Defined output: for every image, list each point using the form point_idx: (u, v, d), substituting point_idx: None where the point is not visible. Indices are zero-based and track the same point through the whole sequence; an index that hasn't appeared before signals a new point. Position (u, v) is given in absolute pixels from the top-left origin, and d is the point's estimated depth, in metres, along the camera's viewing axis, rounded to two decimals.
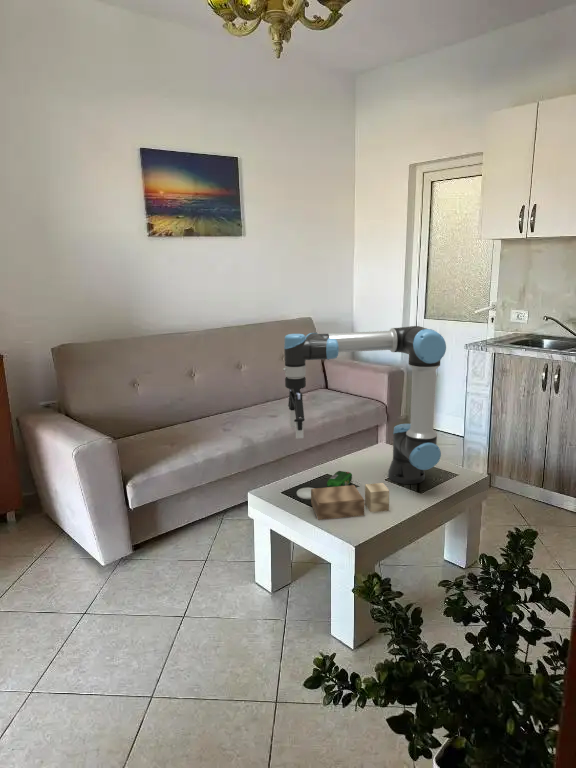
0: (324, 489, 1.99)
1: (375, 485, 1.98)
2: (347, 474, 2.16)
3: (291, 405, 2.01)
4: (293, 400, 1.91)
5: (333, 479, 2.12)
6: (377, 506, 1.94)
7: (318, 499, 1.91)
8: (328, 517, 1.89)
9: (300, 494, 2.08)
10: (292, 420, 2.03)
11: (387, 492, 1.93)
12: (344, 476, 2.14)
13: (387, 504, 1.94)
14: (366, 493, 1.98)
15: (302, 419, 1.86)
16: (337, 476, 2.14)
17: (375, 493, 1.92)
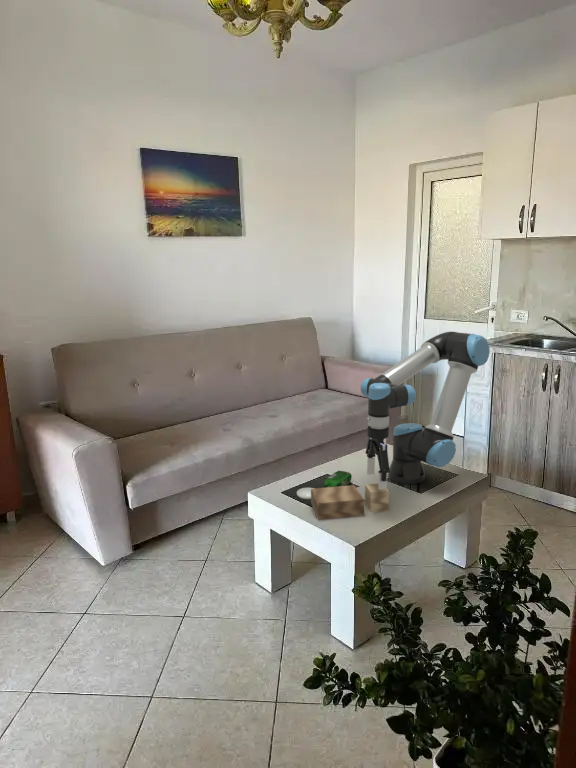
0: (324, 489, 1.99)
1: (375, 485, 1.98)
2: (346, 474, 2.16)
3: (370, 453, 1.98)
4: (376, 450, 1.89)
5: (330, 478, 2.12)
6: (377, 506, 1.94)
7: (318, 499, 1.91)
8: (328, 517, 1.89)
9: (300, 494, 2.08)
10: (370, 467, 2.01)
11: (387, 492, 1.93)
12: (342, 476, 2.14)
13: (387, 504, 1.94)
14: (366, 493, 1.98)
15: (387, 471, 1.84)
16: (335, 475, 2.15)
17: (375, 493, 1.92)
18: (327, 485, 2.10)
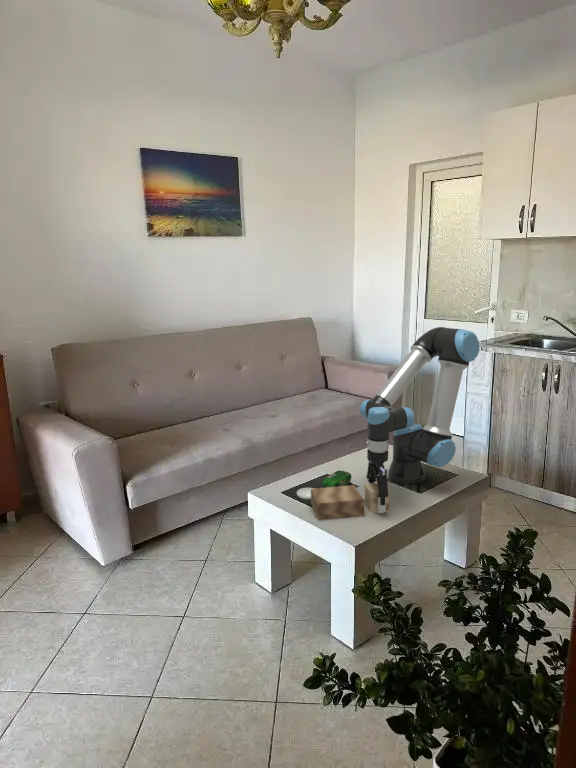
0: (324, 489, 1.99)
1: (375, 485, 1.98)
2: (345, 474, 2.16)
3: (371, 477, 2.00)
4: (376, 474, 1.91)
5: (329, 478, 2.13)
6: (377, 506, 1.94)
7: (318, 499, 1.91)
8: (328, 517, 1.89)
9: (300, 494, 2.08)
10: None
11: None
12: (341, 476, 2.14)
13: (387, 504, 1.94)
14: (366, 493, 1.98)
15: (386, 495, 1.87)
16: (334, 475, 2.15)
17: (375, 493, 1.92)
18: (325, 484, 2.11)
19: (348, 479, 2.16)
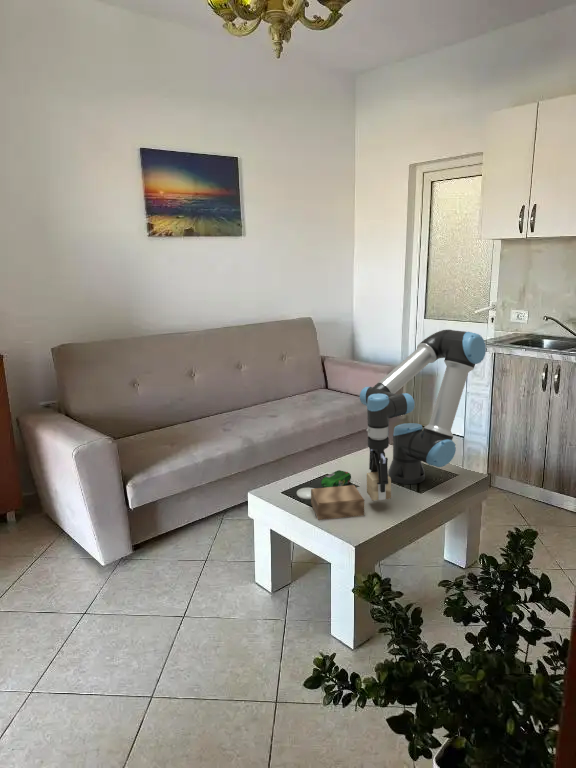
0: (324, 489, 1.99)
1: (376, 473, 1.97)
2: (344, 474, 2.16)
3: (373, 467, 1.98)
4: (376, 461, 1.91)
5: (328, 477, 2.13)
6: None
7: (318, 499, 1.91)
8: (328, 517, 1.89)
9: (300, 494, 2.08)
10: None
11: (389, 480, 1.92)
12: (340, 475, 2.15)
13: (389, 492, 1.94)
14: (368, 481, 1.97)
15: (386, 482, 1.88)
16: (333, 475, 2.15)
17: (377, 481, 1.92)
18: (324, 484, 2.12)
19: (347, 479, 2.16)
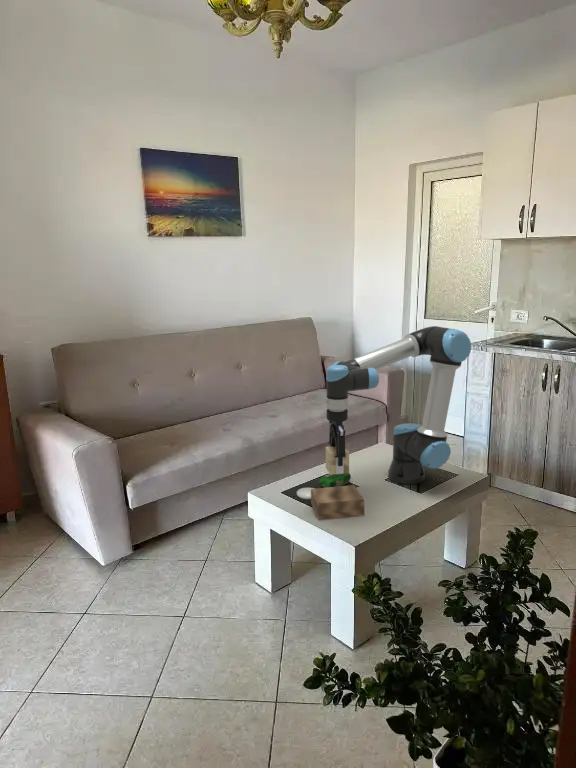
0: (324, 489, 1.99)
1: (335, 447, 1.93)
2: (343, 474, 2.16)
3: (332, 441, 1.94)
4: (335, 434, 1.87)
5: (326, 477, 2.14)
6: None
7: (318, 499, 1.91)
8: (328, 517, 1.89)
9: (300, 494, 2.08)
10: None
11: (347, 454, 1.88)
12: (339, 475, 2.15)
13: (347, 466, 1.89)
14: (326, 455, 1.93)
15: (343, 455, 1.84)
16: (332, 474, 2.16)
17: (334, 455, 1.88)
18: (321, 483, 2.13)
19: (346, 479, 2.17)
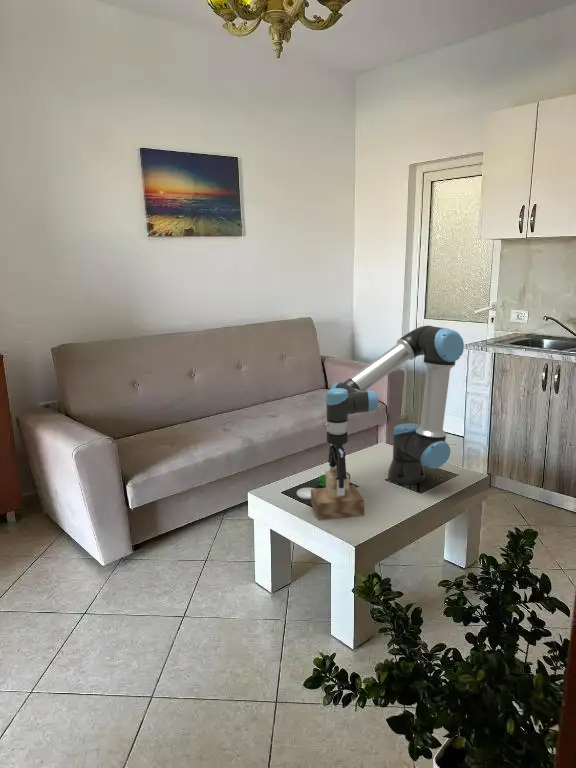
0: (324, 489, 1.99)
1: (336, 471, 1.95)
2: None
3: (332, 461, 1.97)
4: (335, 456, 1.88)
5: (324, 476, 2.15)
6: None
7: (318, 499, 1.91)
8: (328, 517, 1.89)
9: (300, 494, 2.08)
10: None
11: (347, 478, 1.90)
12: None
13: (347, 490, 1.92)
14: (327, 479, 1.95)
15: (344, 478, 1.85)
16: None
17: (335, 479, 1.90)
18: (319, 482, 2.14)
19: None
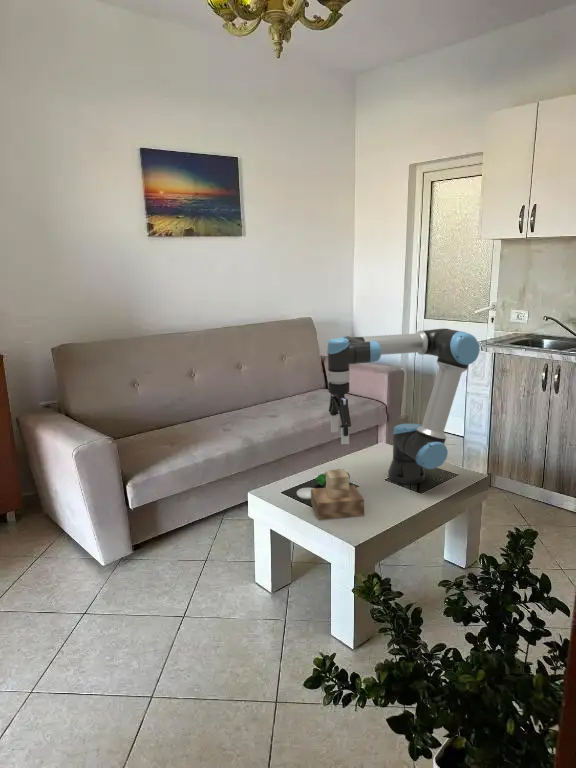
0: (324, 489, 1.99)
1: (336, 471, 1.95)
2: None
3: (333, 410, 1.98)
4: (338, 405, 1.88)
5: (323, 475, 2.16)
6: (337, 492, 1.91)
7: (318, 499, 1.91)
8: (328, 517, 1.89)
9: (300, 494, 2.08)
10: (333, 425, 2.00)
11: (347, 478, 1.90)
12: None
13: (347, 490, 1.92)
14: (327, 479, 1.95)
15: (349, 425, 1.83)
16: None
17: (335, 479, 1.90)
18: (317, 480, 2.15)
19: None
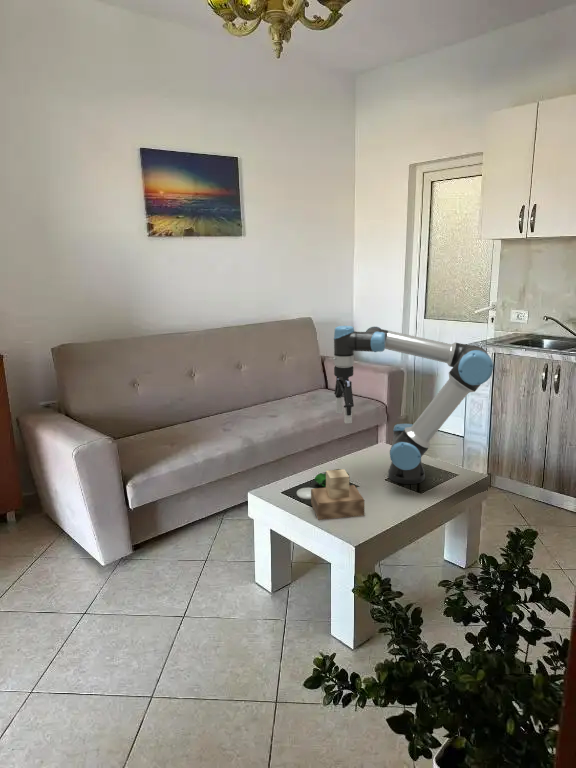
0: (324, 489, 1.99)
1: (336, 471, 1.95)
2: None
3: (338, 393, 2.14)
4: (342, 387, 2.05)
5: (322, 474, 2.17)
6: (337, 492, 1.91)
7: (318, 499, 1.91)
8: (328, 517, 1.89)
9: (300, 494, 2.08)
10: (338, 407, 2.17)
11: (347, 478, 1.90)
12: None
13: (347, 490, 1.92)
14: (327, 479, 1.95)
15: (352, 405, 2.00)
16: None
17: (335, 479, 1.90)
18: (316, 479, 2.16)
19: None
